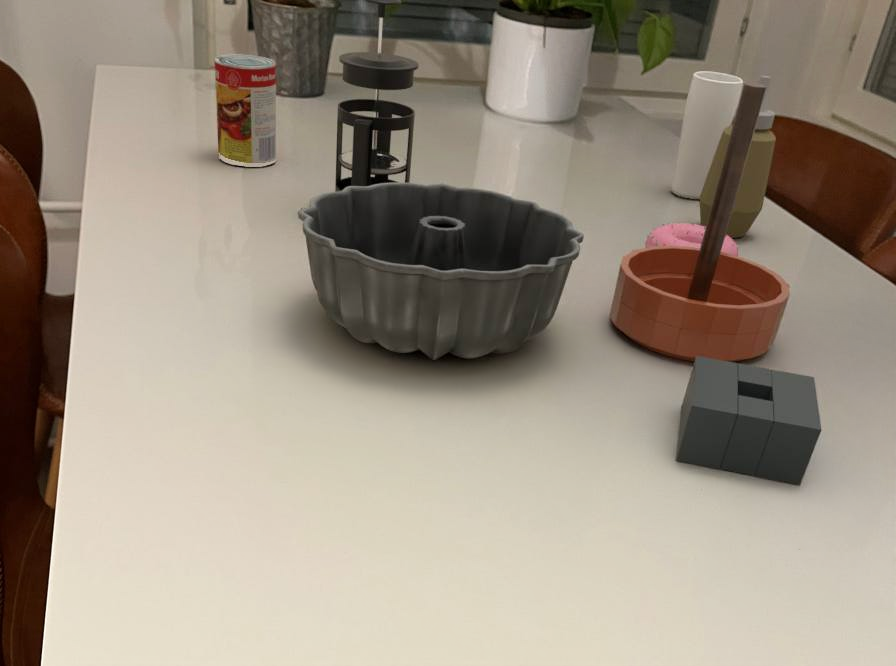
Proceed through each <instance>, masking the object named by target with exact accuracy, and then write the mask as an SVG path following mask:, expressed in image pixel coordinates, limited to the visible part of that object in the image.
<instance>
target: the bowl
mask: <svg viewBox="0 0 896 666" xmlns="http://www.w3.org/2000/svg"><path fill="white" fill-rule="evenodd" d="M699 251H700V248H696V247H695V248H694V247H684V246H654V247H642V248H638V249H633V250H631V251H630V252H628V253H627V254H625V255H624V256H622V257H621V261H620V265H619V270H618V274H617V279H616V283H615V288H614V292H613V298H612V302H611V307H610V311H609V318H610V319H611V321H612V323H613V325H614V326H615V327H616V328H617V329H618V330H620V331H621V332H622V333H623V334H625V335H626V336H627V337H628V338H629V337H630V338H631V339H630V338H629V339H630V340H632V341H633V342H635V343H636V344H637V345H640V346H641V345H642V346H641V347H644V348H645V347H646V348H645V349H648V350H650V351H653V352H655V353H658V354H661V355H662V356H663V355H664V356H667V357H670V358H674V359H679V360H684V361H689V362H694V361H695V357H696V356H700V357H706V358H711V359H717V360H722V361H728V362H733V363H737V362H741V361H744V360H749V359H753V358H756V357H758V356H762V355H764V354H766V353H767V352H768V351H769V350H770V349H771V348H772V347H773V346H774V343H775V340H776V338H777V335H778V332H779V328H780V325H781V323H782V320H783V317H784V313H785V312H786V311H785V310H786V307H787V305H788V301H789V298H790V295H791V293H790V292H791V291H790V285H789V283H788V282H786V280H784V278H783V277H782V276H781V275H780V274H778V273H777V272H774V271H773V270H771V269H770V268H768V267H766V266H765V265H762V264H759V263H756V262H754V261H752V260H749V259H747V258H744V257H742V256H739V255H738V256H735V255H731V254H727V253H723V252H721V253H720V256H719V260H718V263H717V267H716V271H715V274H714V278H713V281H712V285H711V288H710V292H709V296H708V299H707V302H702V301H696V300H691V299H687V296H688V292H689V288H690V285H691V281H692V277H693V273H694V270H695V266H696V262H697V258H698V255H699Z"/></svg>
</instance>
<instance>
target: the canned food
mask: <svg viewBox="0 0 896 666" xmlns="http://www.w3.org/2000/svg"><path fill="white" fill-rule="evenodd" d="M214 74H215V75H214V77H215V101H216V102H215V104H216V125H217V126H216V128H217V150H218V151H217V153H218V152H219V153H220V155H222V156H224V157H225V158H228V159H231V160H235V161H239V162H244V163H245V162H246V163H266V162H271V161H274V160H275V159H276V160H277V64H276V61H275V60H273V59H271V58H270V57H265V56H260V55H255V54H254V55H253V54H244V53H227V54H220V55H217V56H215V57H214Z"/></svg>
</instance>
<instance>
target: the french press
mask: <svg viewBox="0 0 896 666" xmlns="http://www.w3.org/2000/svg"><path fill="white" fill-rule="evenodd" d="M363 1H365V2H367V3H372V4H377V7H376V17H377V18H379V19H378V20H379V21H378V38H377V39H378V41H377V52H375V51H357V52H353V51H352V52H346V53H342V54H340V55H339V56H338V57H339V58H338V60H339V62H340V63H341V64H342V80H343V82H345V83H347V84H349V85H352V86H354V87H359V88H362V89H363V88H365V89H370V90H375V98H374V99H373V98H355V99H353V98H352V99H346V100H343V101H340V102H338V103H337V119H336V121H337V122H336V153H335V154H336V155H335V182H334V183H335V186H334V192H337V191H342V190H343V189H344V188H345V187H348V186H371V185H374V184H380V183H391V182H398V181H396V180H393V179H389V176H393V175H399V174H402V173H405V174H404V175H405V177H404V183H411V182H410V181H411V170H412V169H411V168H412V157H413V156H412V154H413V144H414V143H413V141H414V128H415V116H416V111H415V110H414V109H413V108H412V107H410V106H408V105H406V104H403V103H400V102H395V101H391V100H384V99H379V96H380V90H381V91H403V90H407V89H411V88H413V86H414V79H415V78H414V77H415V71H416V70H418V69H419V62H418V61H416V60H413V59H412V58H409V57H405V56H401V55H396V54H391V53H385V52H382V42H383V41H382V40H383V23H384V21H383V20H384V19H385V18H386V14H387V6H388V5H390V6H391V5H393V6H395V5H401V4H402V0H363ZM357 112H370V113H371V112H372V113H374V115H373V116H367V115H362V114H357ZM393 115H394V116H398V117H393ZM344 125H347V126H350V127H353V132H352V134H353V136H352V150H349V151H344V152H343V133H344V131H343V129H344ZM404 130H408V134H407V135H408V136H407V147H406V148H407V150H406V152H407V153H406V157H403V156H401V155H398V154H395V153H391V140H392V139H391V138H392V132H395V131H396V132H397V131H404ZM342 167H343V169H346V170H348V171H351V176H348V177H344V178H342Z"/></svg>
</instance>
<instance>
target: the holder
mask: <svg viewBox="0 0 896 666" xmlns="http://www.w3.org/2000/svg"><path fill="white" fill-rule="evenodd" d="M690 372H691V373H690V375H689V379H688V381H687V386H686V389H685V392H684V396H683V400H682V403H681V407H680V418H679V426H678V435H677V446H676V455H675V461H677V462H681V463H686V464H692V465H695V466H700V467H701V466H702V467H706V468H711V469H716V470H722V471H727V472H732V473H737V474H742V475H748V476H751V477H755V478H762V479H765V480H771V481H776V482H780V483H786V484H792V485H795V486H801V484H802V481H803V478H804V477H805V473H806V472H807V470H808V469H807V468H808V467H809V464H810V461H811V459H812V456H813V454H814V451H815V448H816V446H817V443H818V441H819V438H820V435H821V433H822V423H821V418H820V409H819V403H818V394H817V388H816V381H815V376H811V375H805V374H799V373H794V372H788V371H782V370H777V369H771V368H767V367H760V366H755V365H750V364H744V363H737V362H728V361H722V360H717V359H711V358H706V357H700V356H696V357H695V361H693V365H692V369H691V371H690Z"/></svg>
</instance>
